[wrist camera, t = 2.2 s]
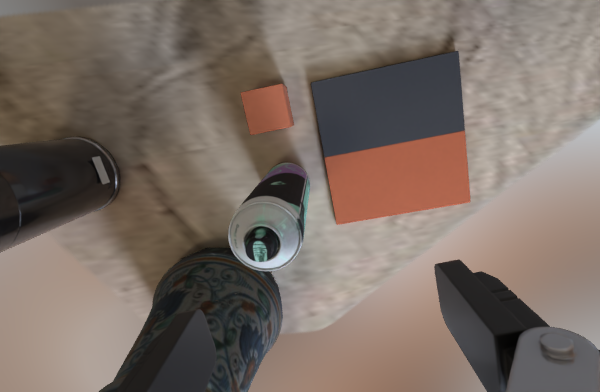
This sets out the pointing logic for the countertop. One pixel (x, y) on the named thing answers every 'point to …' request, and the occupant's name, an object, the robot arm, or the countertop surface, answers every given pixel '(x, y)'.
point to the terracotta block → (267, 109)
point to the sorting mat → (394, 138)
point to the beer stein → (216, 315)
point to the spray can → (272, 219)
